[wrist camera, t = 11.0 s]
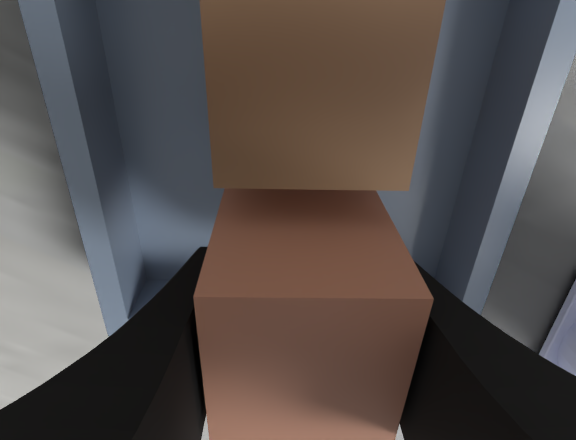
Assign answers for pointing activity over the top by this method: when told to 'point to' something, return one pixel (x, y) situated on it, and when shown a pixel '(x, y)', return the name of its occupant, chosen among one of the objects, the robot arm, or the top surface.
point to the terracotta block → (307, 317)
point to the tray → (197, 152)
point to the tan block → (317, 91)
